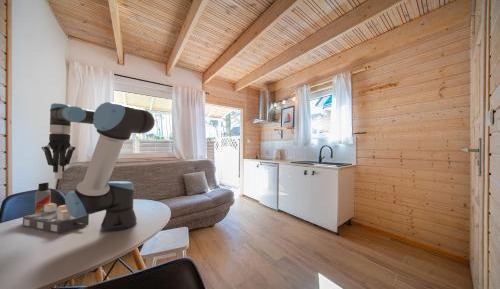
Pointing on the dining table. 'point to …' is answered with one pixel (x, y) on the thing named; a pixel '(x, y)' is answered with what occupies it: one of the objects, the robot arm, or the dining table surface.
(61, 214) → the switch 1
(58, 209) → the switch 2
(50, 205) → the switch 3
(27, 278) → the dining table surface
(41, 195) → the lotion bottle
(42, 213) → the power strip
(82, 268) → the dining table surface
